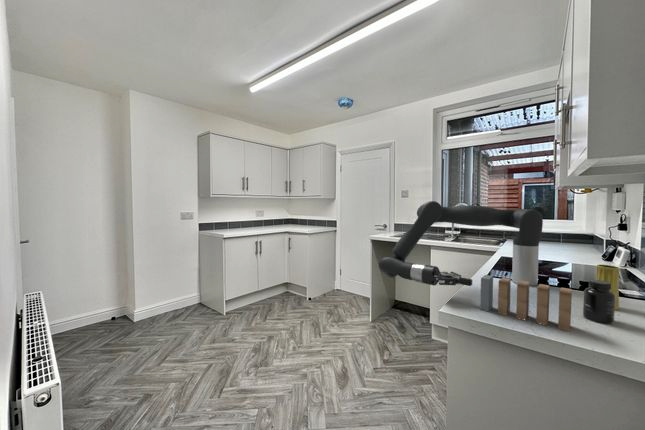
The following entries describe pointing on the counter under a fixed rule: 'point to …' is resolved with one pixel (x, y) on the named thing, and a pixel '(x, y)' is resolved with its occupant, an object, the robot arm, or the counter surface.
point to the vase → (610, 279)
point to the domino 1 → (486, 292)
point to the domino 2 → (504, 296)
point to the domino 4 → (543, 304)
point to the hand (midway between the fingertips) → (471, 282)
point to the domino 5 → (565, 308)
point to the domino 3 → (522, 300)
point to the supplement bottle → (599, 302)
